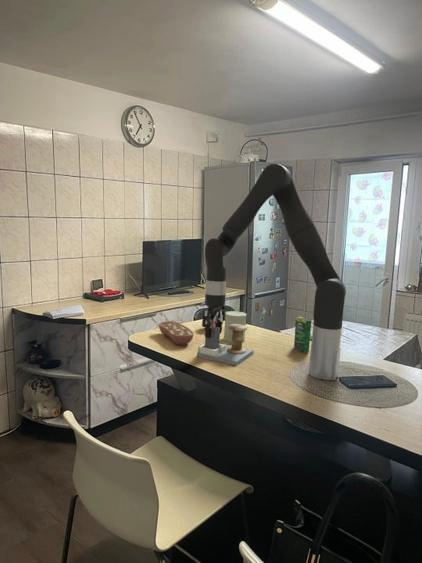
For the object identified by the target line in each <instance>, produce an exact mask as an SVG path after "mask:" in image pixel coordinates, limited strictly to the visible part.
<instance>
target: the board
mask: <svg viewBox="0 0 422 563" xmlns="http://www.w3.org/2000/svg"><path fill="white" fill-rule="evenodd" d="M230 346H232V344H231V345H229V344H226V343H220V342H219V349H215V350H213V349H209V348H205V343H204V344H201V345H199V346H198V347H197V352H196V357H197V358H201V359H205V360H209V361H214V362H219V363H224V364H228V365H232V366H236V367H237V366H239V365H240V364H241V363H243V362H244V361H245V360H247V359H249V358H250V357H251V356H253V355H254V349H250V348H245V349H246V352H245V353H243V354H234V353H230V352H228V351H227V348H228V347H230Z"/></svg>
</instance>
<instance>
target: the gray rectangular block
mask: <svg viewBox="0 0 422 563" xmlns="http://www.w3.org/2000/svg"><path fill="white" fill-rule="evenodd" d="M220 337H221V333H220V327H215V323H213V325H212V332H211V338H206V337H205V336H204V344H205V348H209V349H213V350H215V349H219V343H220Z"/></svg>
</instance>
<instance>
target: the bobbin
mask: <svg viewBox="0 0 422 563" xmlns="http://www.w3.org/2000/svg"><path fill="white" fill-rule="evenodd" d="M229 329H231V330H233V331H232V343H231V346H230V347H228V348H227V351H228V352H230V353H234V354H243V353H245V352H246V349H247V348H245V347H243V342H242V341H243V331H245V332H246V331H247V330H248V326H247V325H246V326H245V325H241V324H231V325H229Z"/></svg>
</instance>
